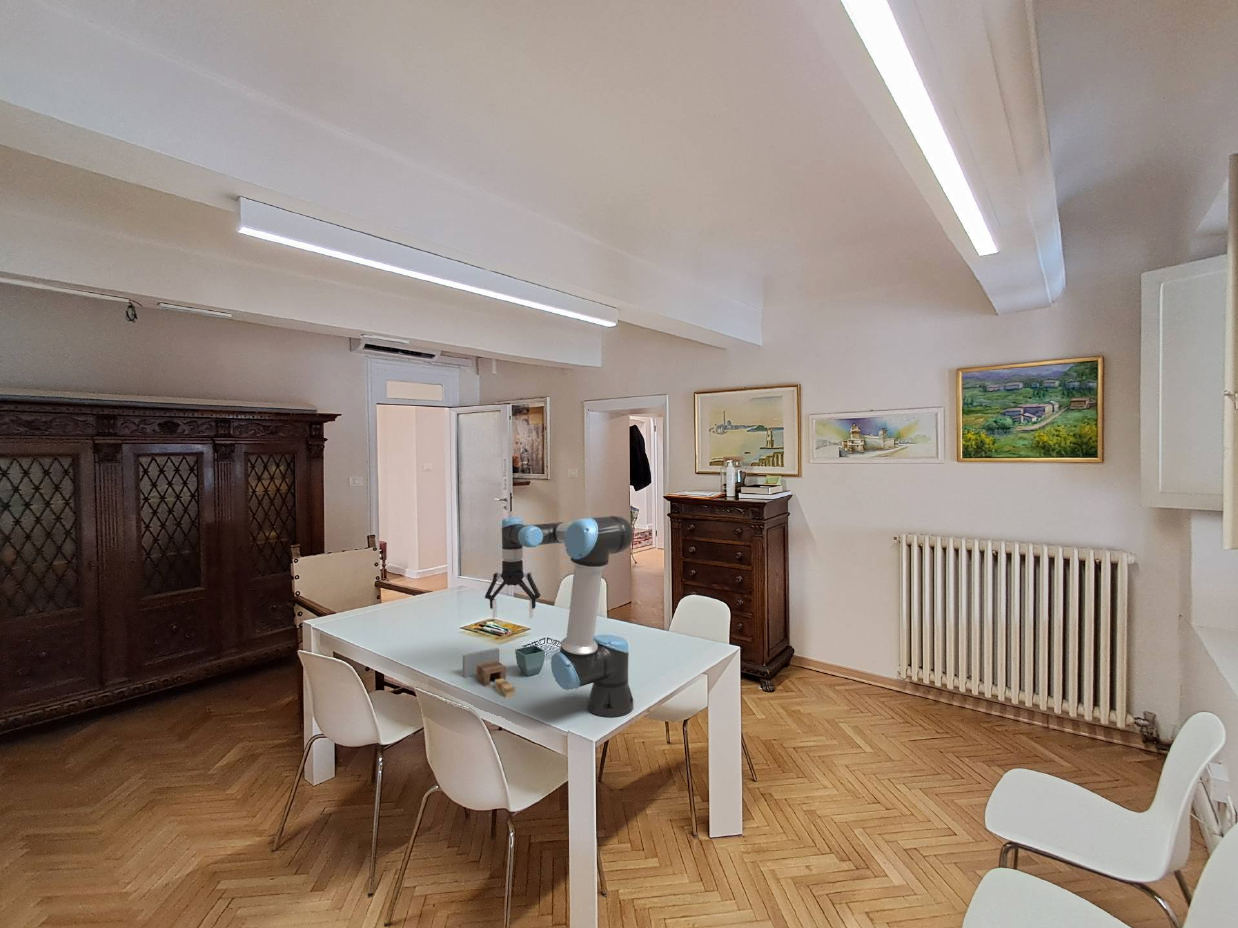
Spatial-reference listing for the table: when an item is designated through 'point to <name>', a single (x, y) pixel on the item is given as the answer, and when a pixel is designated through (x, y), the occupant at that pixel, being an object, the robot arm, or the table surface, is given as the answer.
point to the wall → (478, 660)
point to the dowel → (504, 687)
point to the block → (490, 672)
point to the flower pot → (530, 659)
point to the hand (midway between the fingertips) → (512, 617)
